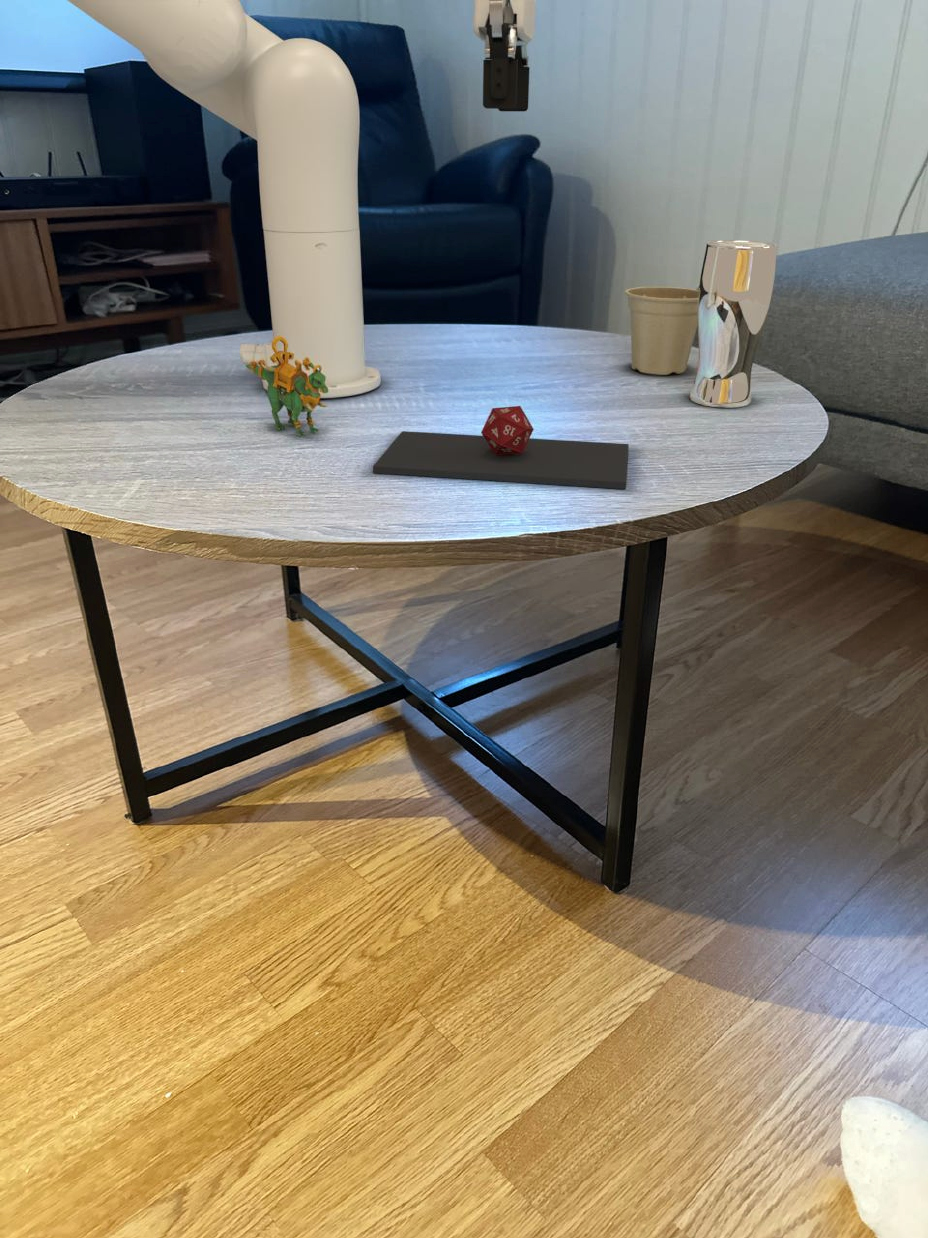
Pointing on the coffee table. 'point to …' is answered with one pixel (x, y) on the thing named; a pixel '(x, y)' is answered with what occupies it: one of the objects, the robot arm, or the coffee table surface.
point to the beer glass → (731, 319)
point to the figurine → (291, 386)
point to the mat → (507, 460)
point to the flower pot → (662, 328)
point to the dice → (507, 430)
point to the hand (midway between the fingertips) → (506, 109)
